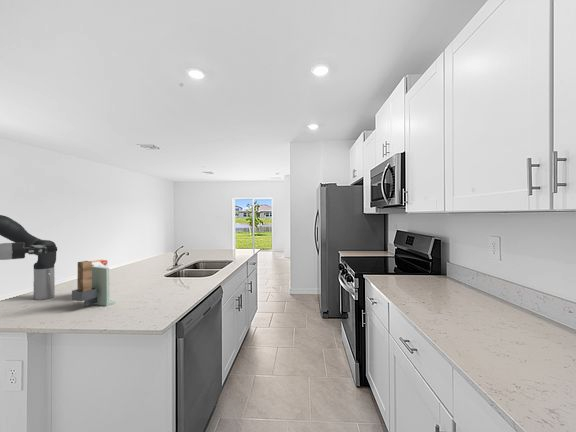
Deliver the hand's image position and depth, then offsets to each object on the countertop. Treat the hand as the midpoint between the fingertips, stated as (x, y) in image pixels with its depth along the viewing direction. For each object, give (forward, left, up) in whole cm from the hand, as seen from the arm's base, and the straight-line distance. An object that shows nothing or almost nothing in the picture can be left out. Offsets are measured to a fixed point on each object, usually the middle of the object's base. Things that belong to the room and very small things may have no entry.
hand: (56, 248), depth 144 cm
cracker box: (-10, +24, -32) cm, 41 cm away
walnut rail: (+5, +10, -26) cm, 28 cm away
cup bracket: (+5, +14, -32) cm, 35 cm away
